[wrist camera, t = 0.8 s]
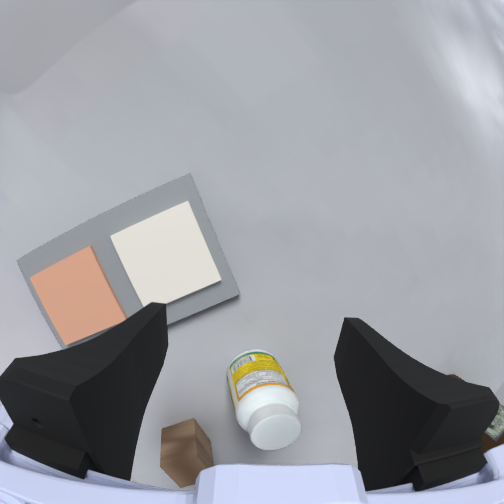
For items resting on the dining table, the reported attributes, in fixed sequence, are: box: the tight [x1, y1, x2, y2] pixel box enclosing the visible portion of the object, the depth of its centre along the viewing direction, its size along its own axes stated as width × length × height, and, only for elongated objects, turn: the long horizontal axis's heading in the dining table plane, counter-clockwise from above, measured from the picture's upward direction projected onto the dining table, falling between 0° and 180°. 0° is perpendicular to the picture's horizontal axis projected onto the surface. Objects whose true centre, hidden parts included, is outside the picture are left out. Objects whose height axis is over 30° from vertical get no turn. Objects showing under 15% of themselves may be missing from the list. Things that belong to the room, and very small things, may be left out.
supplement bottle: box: [227, 349, 301, 450], centre depth 26 cm, size 5×5×10 cm
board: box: [16, 173, 241, 350], centre depth 26 cm, size 18×11×2 cm, turn 111°
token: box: [160, 418, 214, 488], centre depth 28 cm, size 4×4×6 cm
